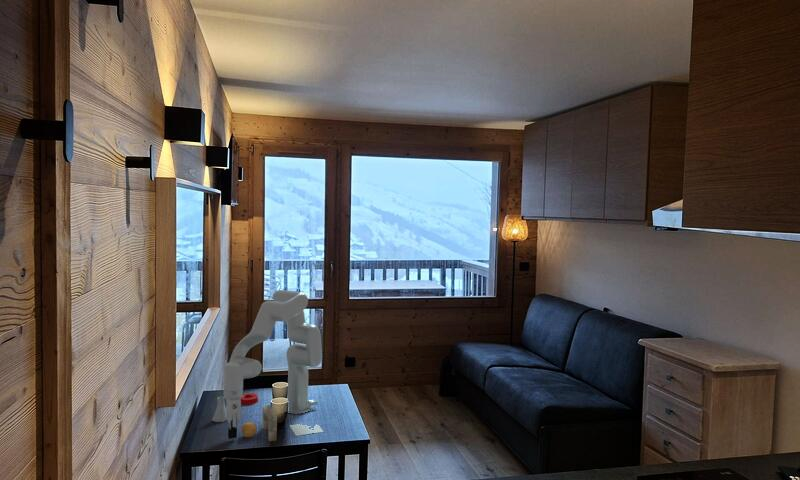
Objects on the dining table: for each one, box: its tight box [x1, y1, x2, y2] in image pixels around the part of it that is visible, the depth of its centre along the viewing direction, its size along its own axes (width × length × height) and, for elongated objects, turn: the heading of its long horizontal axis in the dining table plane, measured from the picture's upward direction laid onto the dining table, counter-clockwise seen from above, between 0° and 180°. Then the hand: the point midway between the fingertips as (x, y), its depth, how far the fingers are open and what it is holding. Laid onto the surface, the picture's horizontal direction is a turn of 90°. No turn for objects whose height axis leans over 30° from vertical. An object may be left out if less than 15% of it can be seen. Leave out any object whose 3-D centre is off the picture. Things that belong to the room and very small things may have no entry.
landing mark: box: [288, 423, 324, 437], centre depth 226 cm, size 12×12×1 cm
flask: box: [211, 396, 228, 423], centre depth 234 cm, size 7×7×10 cm
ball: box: [240, 421, 257, 438], centre depth 216 cm, size 6×6×6 cm
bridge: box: [261, 404, 278, 442], centre depth 219 cm, size 3×15×10 cm, turn 25°
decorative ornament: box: [240, 392, 259, 406], centre depth 258 cm, size 10×10×3 cm
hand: (232, 437), depth 212 cm, fingers closed
